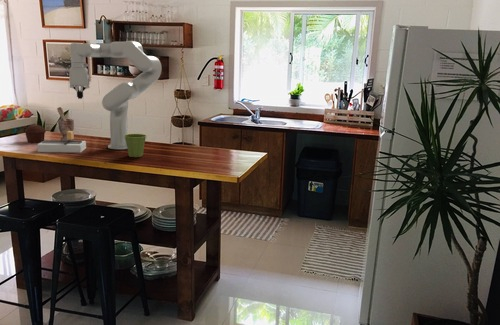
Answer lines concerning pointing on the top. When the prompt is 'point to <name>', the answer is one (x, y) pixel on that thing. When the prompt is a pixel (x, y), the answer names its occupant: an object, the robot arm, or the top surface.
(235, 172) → the top surface
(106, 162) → the top surface
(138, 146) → the plant pot
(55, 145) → the control panel
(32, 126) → the muffin
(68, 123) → the mortar and pestle
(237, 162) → the top surface
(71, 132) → the slider tab
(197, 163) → the top surface
